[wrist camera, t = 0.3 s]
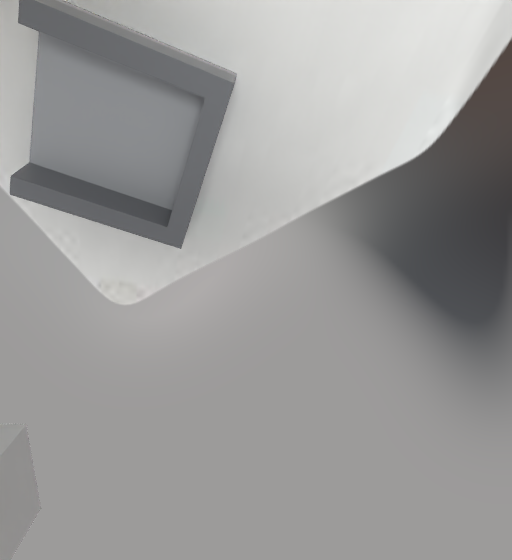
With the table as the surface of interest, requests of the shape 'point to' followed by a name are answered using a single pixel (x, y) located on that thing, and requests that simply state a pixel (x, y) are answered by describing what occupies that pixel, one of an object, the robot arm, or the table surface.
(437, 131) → the table surface
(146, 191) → the gray open-sided tray
